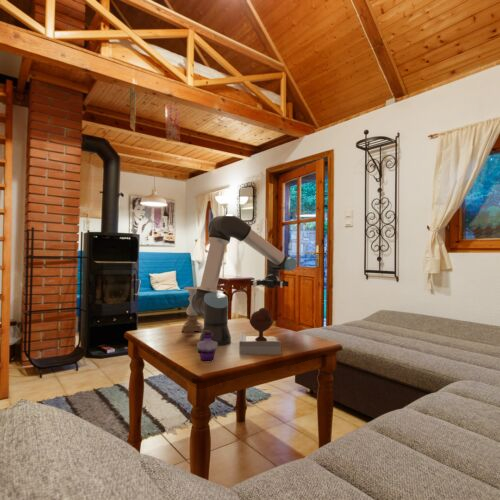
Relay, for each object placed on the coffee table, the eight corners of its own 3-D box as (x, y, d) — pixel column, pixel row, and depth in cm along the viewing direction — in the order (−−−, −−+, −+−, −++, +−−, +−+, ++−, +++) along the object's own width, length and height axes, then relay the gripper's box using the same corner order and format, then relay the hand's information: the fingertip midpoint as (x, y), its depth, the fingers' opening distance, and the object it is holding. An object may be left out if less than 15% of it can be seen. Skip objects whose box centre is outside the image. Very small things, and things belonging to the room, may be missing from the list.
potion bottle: (195, 357, 145) (195, 328, 145) (215, 355, 147) (215, 327, 147) (198, 364, 136) (198, 333, 136) (219, 362, 139) (220, 332, 139)
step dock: (239, 354, 150) (239, 341, 150) (239, 343, 168) (239, 332, 168) (280, 354, 150) (281, 341, 150) (276, 343, 168) (277, 332, 168)
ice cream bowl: (268, 336, 167) (269, 305, 167) (275, 342, 156) (275, 309, 156) (247, 337, 165) (247, 305, 165) (252, 343, 154) (252, 309, 154)
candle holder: (183, 328, 200) (184, 286, 200) (202, 327, 201) (203, 286, 202) (181, 332, 189) (182, 288, 190) (201, 332, 191) (202, 288, 191)
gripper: (293, 288, 193) (292, 293, 172) (249, 287, 197) (242, 291, 176) (293, 275, 193) (292, 277, 172) (249, 274, 197) (243, 276, 176)
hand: (267, 284), depth 174 cm, fingers open, 13 cm apart
